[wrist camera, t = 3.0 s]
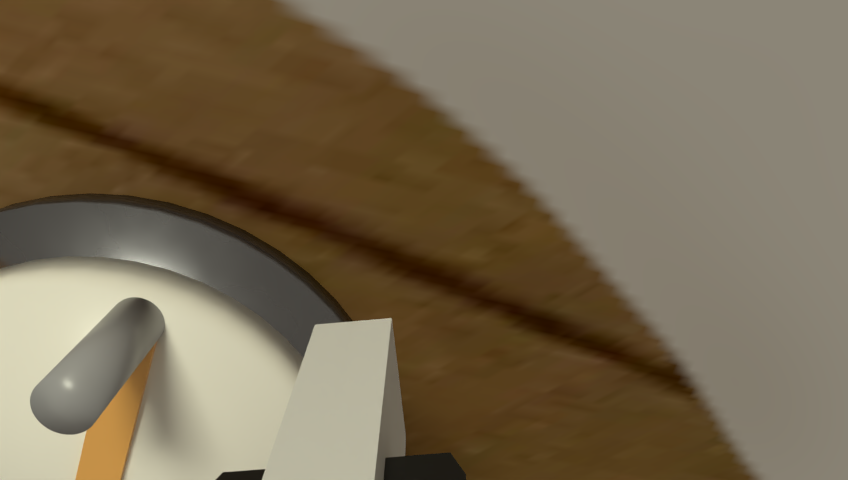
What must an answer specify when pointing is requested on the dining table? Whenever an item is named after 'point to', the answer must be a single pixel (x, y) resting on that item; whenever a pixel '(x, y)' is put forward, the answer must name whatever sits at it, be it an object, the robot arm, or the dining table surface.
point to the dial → (134, 374)
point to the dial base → (172, 253)
